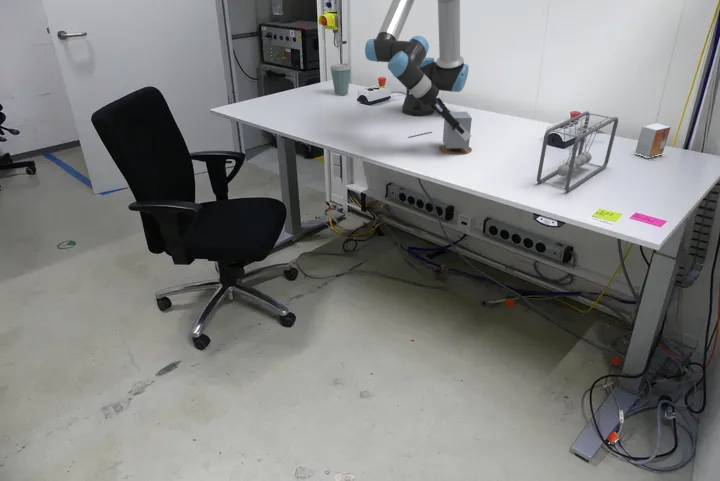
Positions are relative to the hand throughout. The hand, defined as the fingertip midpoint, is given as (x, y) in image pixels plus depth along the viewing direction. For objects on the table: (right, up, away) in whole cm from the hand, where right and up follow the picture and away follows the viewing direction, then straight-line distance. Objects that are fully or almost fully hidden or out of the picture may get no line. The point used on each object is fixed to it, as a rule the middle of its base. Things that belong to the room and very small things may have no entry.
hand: (465, 134), depth 185 cm
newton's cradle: (+31, -18, -18) cm, 40 cm away
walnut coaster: (-3, -5, +3) cm, 7 cm away
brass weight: (-3, -5, +3) cm, 7 cm away
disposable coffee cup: (-48, +37, +78) cm, 99 cm away
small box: (+65, -8, -3) cm, 65 cm away
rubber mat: (-11, +1, +14) cm, 19 cm away
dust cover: (-3, -3, +2) cm, 5 cm away
